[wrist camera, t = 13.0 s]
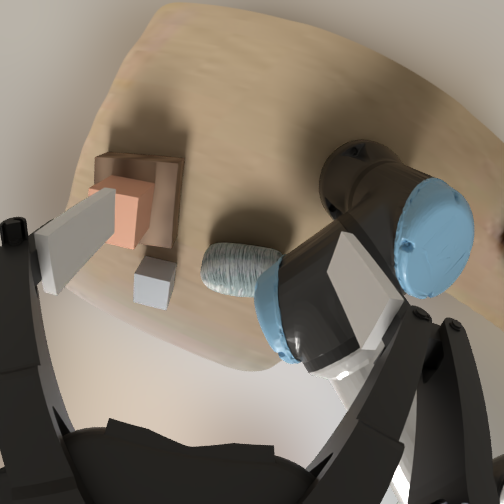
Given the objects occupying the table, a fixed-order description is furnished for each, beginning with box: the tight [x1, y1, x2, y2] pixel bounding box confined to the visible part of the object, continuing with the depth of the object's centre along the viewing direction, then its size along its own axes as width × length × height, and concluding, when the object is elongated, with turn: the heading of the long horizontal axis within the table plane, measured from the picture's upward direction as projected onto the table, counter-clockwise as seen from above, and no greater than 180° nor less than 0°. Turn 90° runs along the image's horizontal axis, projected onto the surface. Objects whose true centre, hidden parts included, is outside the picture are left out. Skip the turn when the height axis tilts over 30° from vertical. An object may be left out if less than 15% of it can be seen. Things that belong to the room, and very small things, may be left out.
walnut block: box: [94, 152, 185, 248], centre depth 40 cm, size 13×13×5 cm
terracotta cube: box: [88, 175, 155, 250], centre depth 35 cm, size 7×7×7 cm
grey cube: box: [133, 256, 177, 310], centre depth 46 cm, size 6×6×6 cm
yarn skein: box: [200, 242, 282, 297], centre depth 45 cm, size 14×10×10 cm
